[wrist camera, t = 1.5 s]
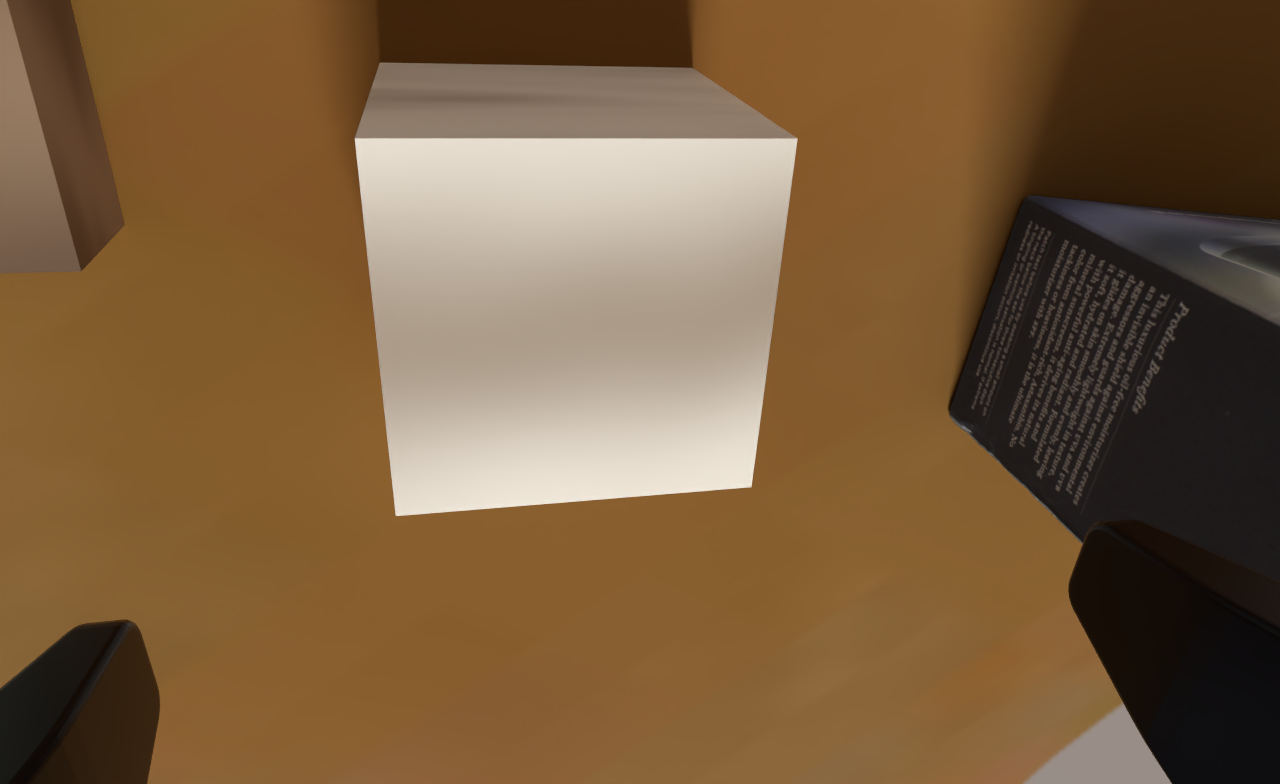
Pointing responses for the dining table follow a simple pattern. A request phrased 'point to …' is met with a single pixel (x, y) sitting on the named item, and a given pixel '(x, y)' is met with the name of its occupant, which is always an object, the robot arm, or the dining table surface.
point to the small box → (1136, 371)
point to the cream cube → (569, 279)
